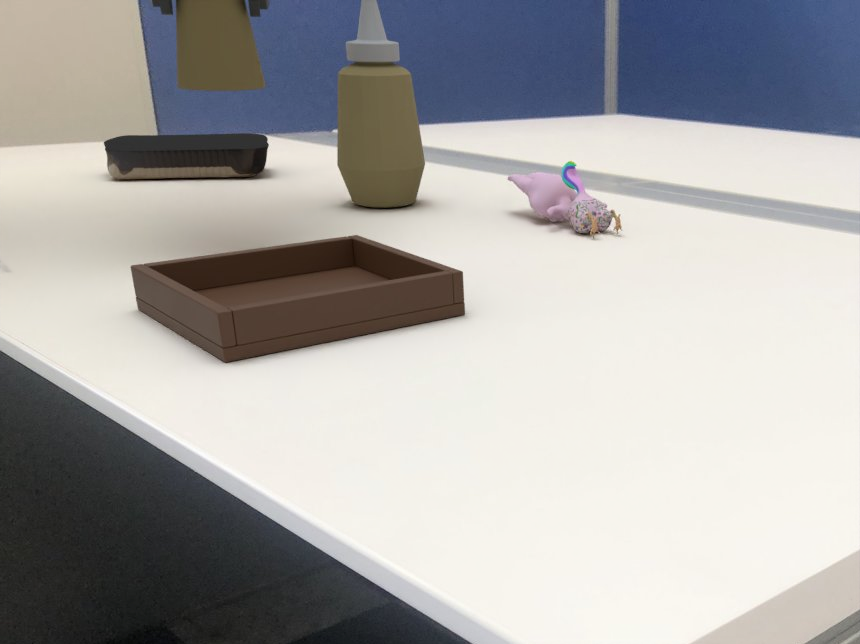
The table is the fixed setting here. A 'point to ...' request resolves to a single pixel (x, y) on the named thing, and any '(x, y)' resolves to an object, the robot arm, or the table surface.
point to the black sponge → (186, 155)
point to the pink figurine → (565, 200)
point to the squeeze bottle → (377, 120)
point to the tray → (295, 294)
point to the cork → (216, 46)
